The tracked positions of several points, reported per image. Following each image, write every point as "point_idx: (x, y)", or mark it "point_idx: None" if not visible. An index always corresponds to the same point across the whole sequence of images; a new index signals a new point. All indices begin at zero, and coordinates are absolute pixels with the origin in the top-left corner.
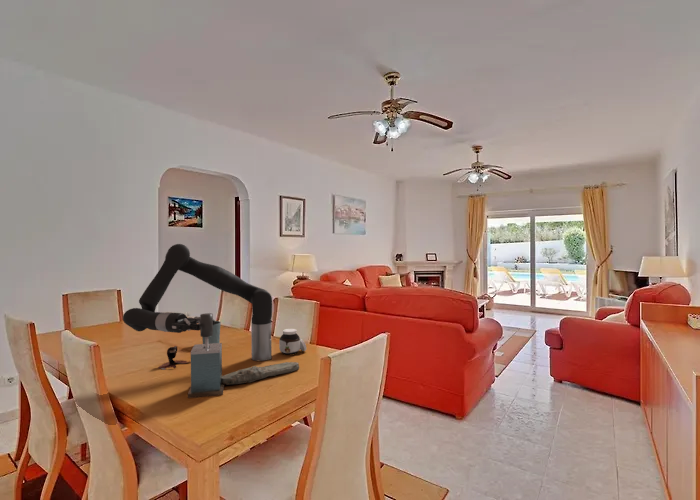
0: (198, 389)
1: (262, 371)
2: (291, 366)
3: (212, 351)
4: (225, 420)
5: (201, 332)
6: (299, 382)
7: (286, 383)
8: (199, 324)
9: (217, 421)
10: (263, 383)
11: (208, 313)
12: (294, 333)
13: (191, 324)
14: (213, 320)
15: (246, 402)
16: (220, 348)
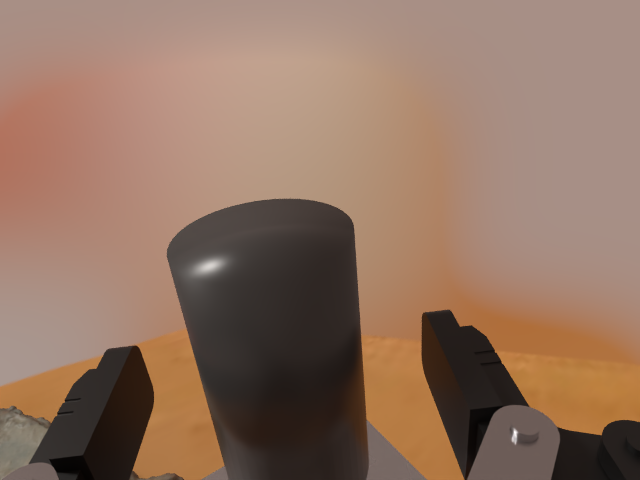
0: None
1: None
2: (24, 415)
3: (375, 434)
4: (525, 392)
5: (366, 436)
6: (159, 365)
7: (172, 393)
8: (435, 311)
9: (549, 408)
10: (179, 467)
11: (181, 251)
12: None
13: (496, 402)
14: (136, 346)
15: (379, 416)
16: None
